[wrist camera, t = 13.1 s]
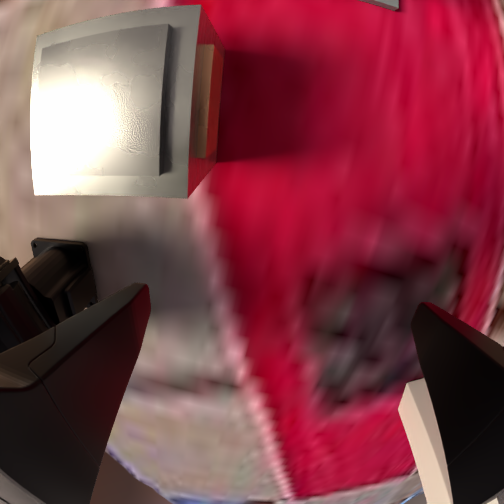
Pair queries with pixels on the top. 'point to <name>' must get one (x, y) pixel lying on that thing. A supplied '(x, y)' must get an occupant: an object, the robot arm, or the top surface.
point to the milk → (426, 442)
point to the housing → (127, 104)
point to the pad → (384, 3)
